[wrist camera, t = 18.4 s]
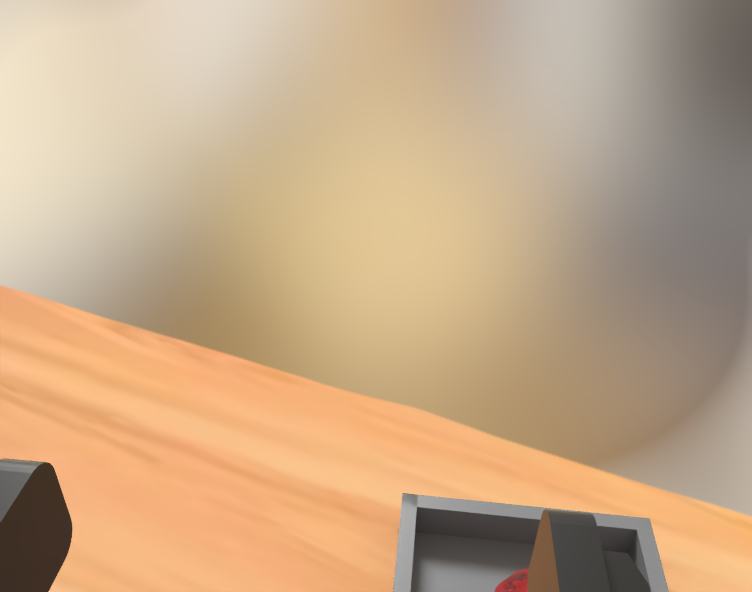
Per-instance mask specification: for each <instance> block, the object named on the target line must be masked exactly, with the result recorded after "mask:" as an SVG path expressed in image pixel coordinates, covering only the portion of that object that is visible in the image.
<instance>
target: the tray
mask: <svg viewBox="0 0 752 592" xmlns="http://www.w3.org/2000/svg"><path fill="white" fill-rule="evenodd" d="M545 509H548V510H559V511H570V512H581V511H571V510H561V509H551V508H541V507H532V506H522V505H512V504H502V503H493V502H483V501H473V500H463V499H453V498H444V497H434V496H424V495H414V494H405V493H403V496H402V506H401V516H400V526H399V537H398V547H397V557H396V567H395V578H394V588H393V592H494V591H495V589H496V587H497V586H498V585H499V584H500V583H501V582H502V581H504V580H505V579H506V578H508V577H509V576H511V575H512V574H514V573H515V572H516V571H519V570H523V569H528V568H529V565H530V561H531V557H532V553H533V549H534V545H535V540H536V536H537V532H538V528H539V524H540V520H541V516H542V513H543V511H544V510H545ZM581 513H590V512H581ZM591 514H593V516H594V517H595V520H596V523H597V527H598V532H599V537H600V542H601V547H602V551H611V552H622V553H628V554H629V556H630V557H631V559H632V560H633V562H634V563H635V565H636V566H637V568H638V569H639V571H640V572H641V574H642V575H643V577H644V578H645V579H646V581H647V582H648V584H649V586H650V590H651V592H669V591H668V587H667V583H666V579H665V575H664V571H663V568H662V564H661V560H660V556H659V552H658V549H657V545H656V541H655V537H654V533H653V530H652V526H651V522H650V519H649V518H639V517H629V516H620V515H610V514H600V513H591Z"/></svg>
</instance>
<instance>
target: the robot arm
mask: <svg viewBox="0 0 752 592" xmlns="http://www.w3.org/2000/svg"><path fill="white" fill-rule="evenodd" d="M71 538H72V521H71V518H70V515H69V512H68V509H67V506H66V503H65V500H64V497H63V494H62V491H61V488H60V485H59V482H58V479H57V476H56V473H55V470H54V468H53V466H52V465H51V464H50V463H47V462H37V461H26V460H15V459H1V460H0V592H48V591H49V589H50V587H51V585H52V583H53V582H54V580H55V578H56V576H57V574H58V572H59V570H60V568H61V566H62V564H63V562H64V560H65V558H66V556H67V553H68V551H69V547H70V543H71ZM527 592H651V590H650V586H649V584H648V582H647V581H646V579H645V578H644V577H643V575H642V574H641V572H640V571H639V569H638V568H637V566H636V565H635V563H634V562H633V560H632V559H631V557H630V556H629V554H628V553H622V552H611V551H602V547H601V542H600V537H599V532H598V527H597V523H596V520H595V517H594V516H593V514H591V513H581V512H570V511H559V510H548V509H545V510H544V511H543V513H542V516H541V520H540V524H539V528H538V532H537V536H536V540H535V545H534V549H533V553H532V557H531V561H530V565H529V571H528V583H527Z"/></svg>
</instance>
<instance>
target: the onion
mask: <svg viewBox="0 0 752 592" xmlns="http://www.w3.org/2000/svg"><path fill="white" fill-rule="evenodd" d="M528 571H529V568H528V569H523V570H519V571H516V572H515V573H514V574H512V575H511V576H509V577H508V578H506V579H505V580H504V581H502V582H501V583H500V584H499V585H498V586H497V587H496V589H495V591H494V592H527V583H528Z"/></svg>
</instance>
